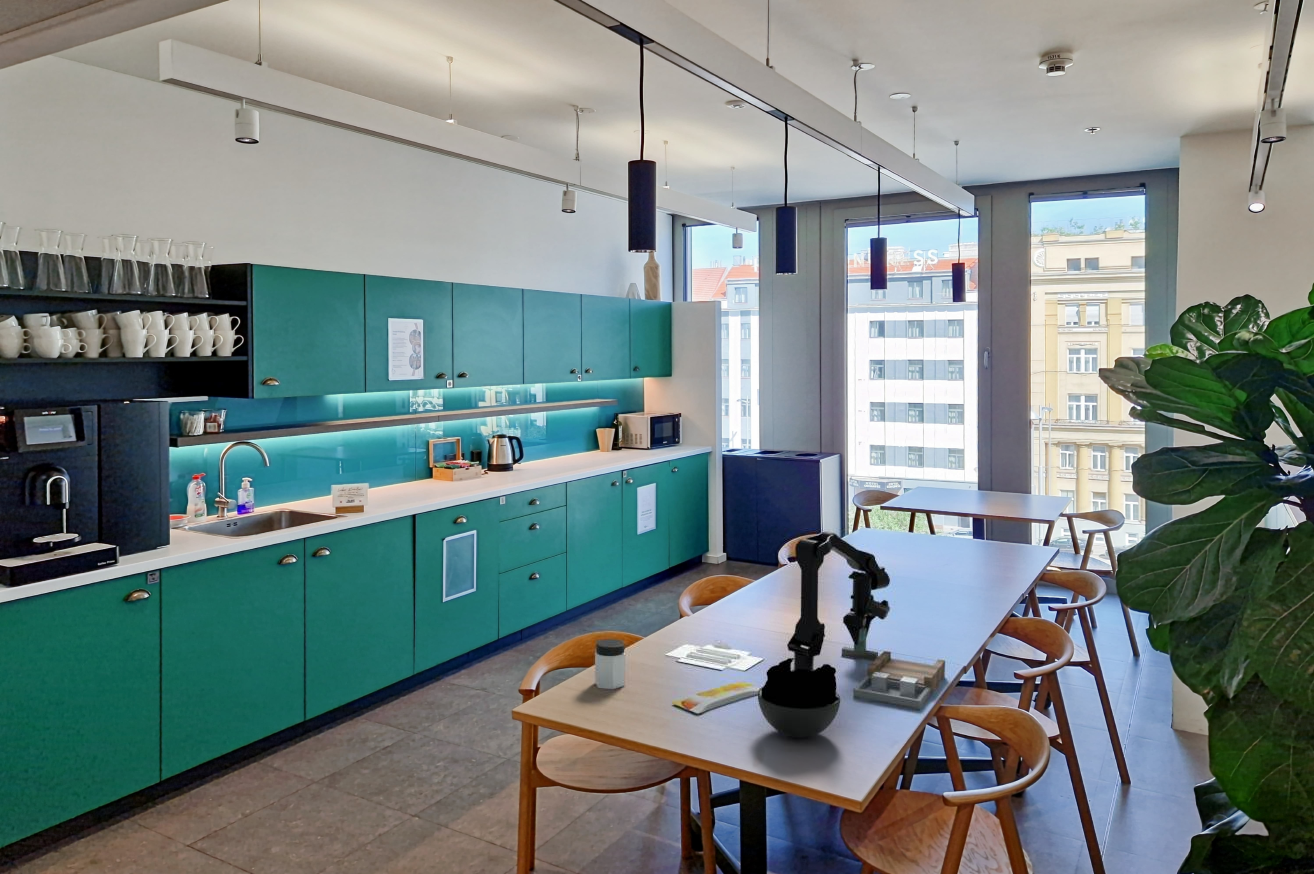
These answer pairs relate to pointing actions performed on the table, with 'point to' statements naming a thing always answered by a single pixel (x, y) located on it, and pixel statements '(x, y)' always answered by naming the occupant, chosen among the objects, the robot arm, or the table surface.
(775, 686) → the coal bowl
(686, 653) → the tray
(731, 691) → the food package
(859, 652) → the rake tool
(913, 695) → the light grey cube
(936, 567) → the table surface
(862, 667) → the table surface
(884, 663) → the slot block
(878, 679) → the white cube
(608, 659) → the jar
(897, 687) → the tray
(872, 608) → the robot arm
